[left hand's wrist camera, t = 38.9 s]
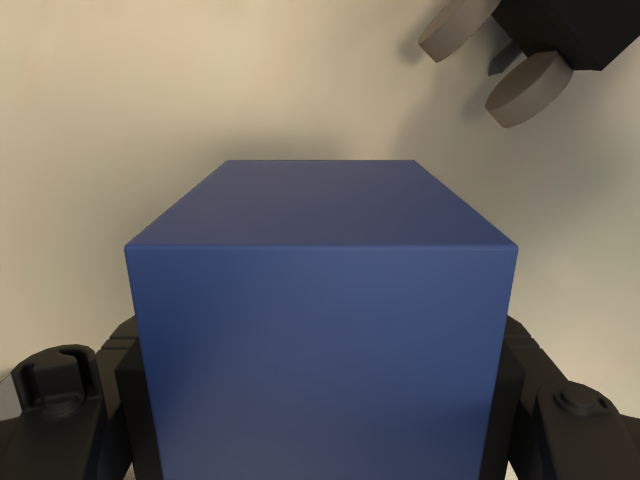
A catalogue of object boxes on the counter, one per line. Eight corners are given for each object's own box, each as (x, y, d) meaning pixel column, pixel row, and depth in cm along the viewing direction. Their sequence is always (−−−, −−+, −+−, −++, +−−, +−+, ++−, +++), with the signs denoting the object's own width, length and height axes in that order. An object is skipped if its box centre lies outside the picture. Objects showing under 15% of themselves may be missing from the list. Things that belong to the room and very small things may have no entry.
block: (240, 358, 16) (178, 576, 9) (225, 159, 13) (121, 245, 6) (400, 358, 16) (463, 577, 9) (415, 159, 13) (521, 245, 6)
